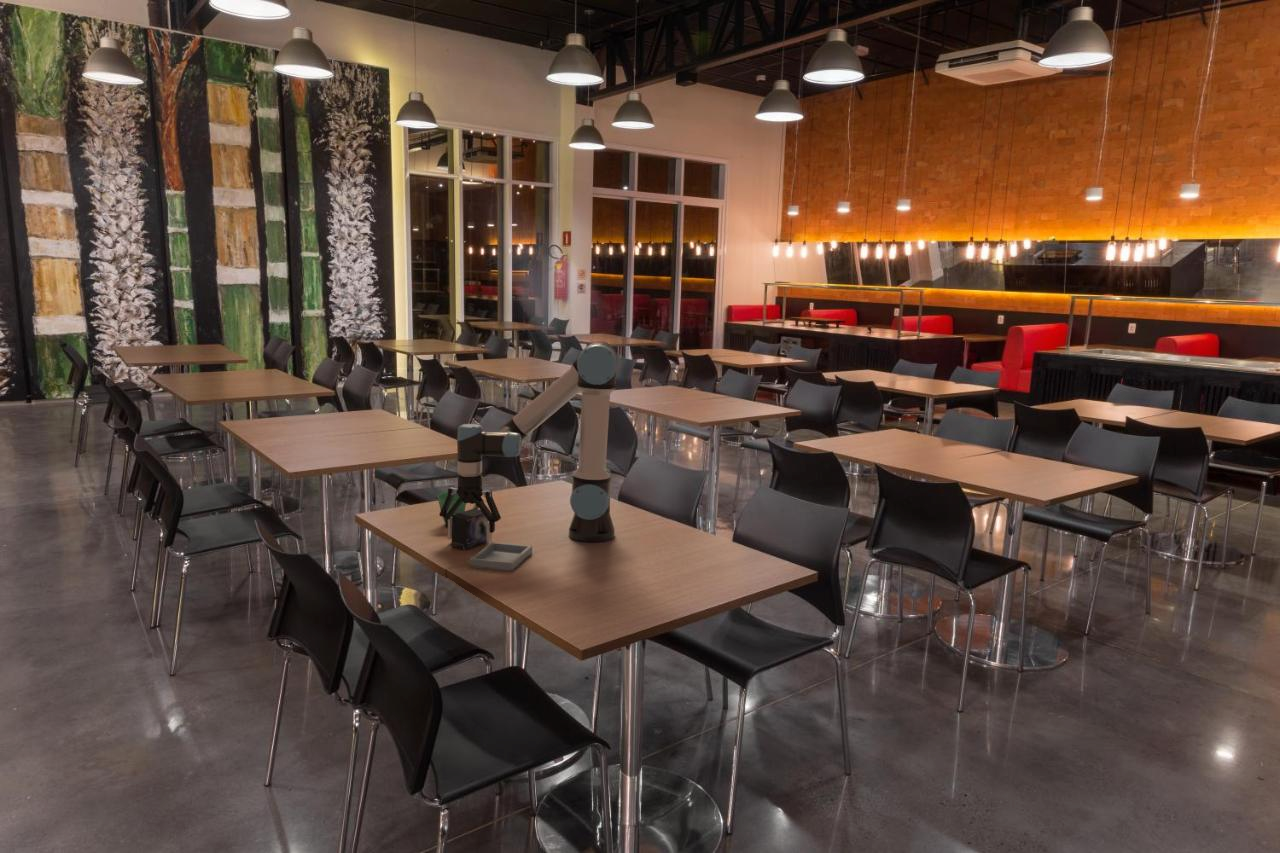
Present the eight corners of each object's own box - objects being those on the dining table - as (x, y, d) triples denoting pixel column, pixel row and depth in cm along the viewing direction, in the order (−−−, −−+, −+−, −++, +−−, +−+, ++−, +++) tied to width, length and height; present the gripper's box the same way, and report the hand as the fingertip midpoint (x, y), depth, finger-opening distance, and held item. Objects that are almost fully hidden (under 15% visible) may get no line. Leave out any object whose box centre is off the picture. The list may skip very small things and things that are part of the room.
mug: (444, 529, 281) (444, 500, 280) (433, 522, 289) (433, 494, 287) (485, 524, 289) (485, 495, 288) (473, 517, 297) (473, 489, 296)
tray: (532, 553, 260) (532, 545, 259) (512, 571, 243) (512, 563, 243) (492, 549, 262) (492, 541, 262) (470, 567, 246) (470, 558, 245)
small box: (466, 551, 260) (465, 518, 259) (450, 547, 264) (450, 514, 262) (489, 542, 269) (489, 511, 267) (474, 539, 273) (474, 507, 271)
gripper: (511, 474, 264) (511, 540, 267) (438, 468, 269) (439, 533, 272) (502, 479, 256) (502, 547, 260) (428, 473, 261) (428, 540, 265)
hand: (470, 540), depth 266 cm, fingers open, 12 cm apart
